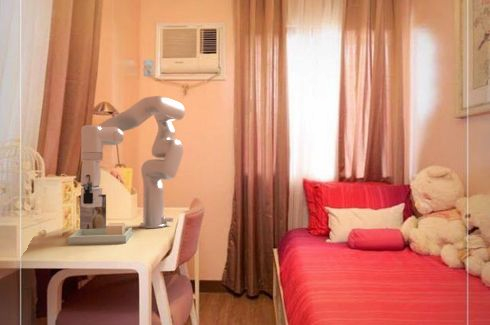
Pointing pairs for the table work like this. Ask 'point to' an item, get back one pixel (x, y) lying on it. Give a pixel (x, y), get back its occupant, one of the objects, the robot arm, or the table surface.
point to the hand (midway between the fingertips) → (91, 202)
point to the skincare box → (96, 198)
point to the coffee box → (93, 216)
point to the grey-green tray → (97, 237)
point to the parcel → (115, 229)
